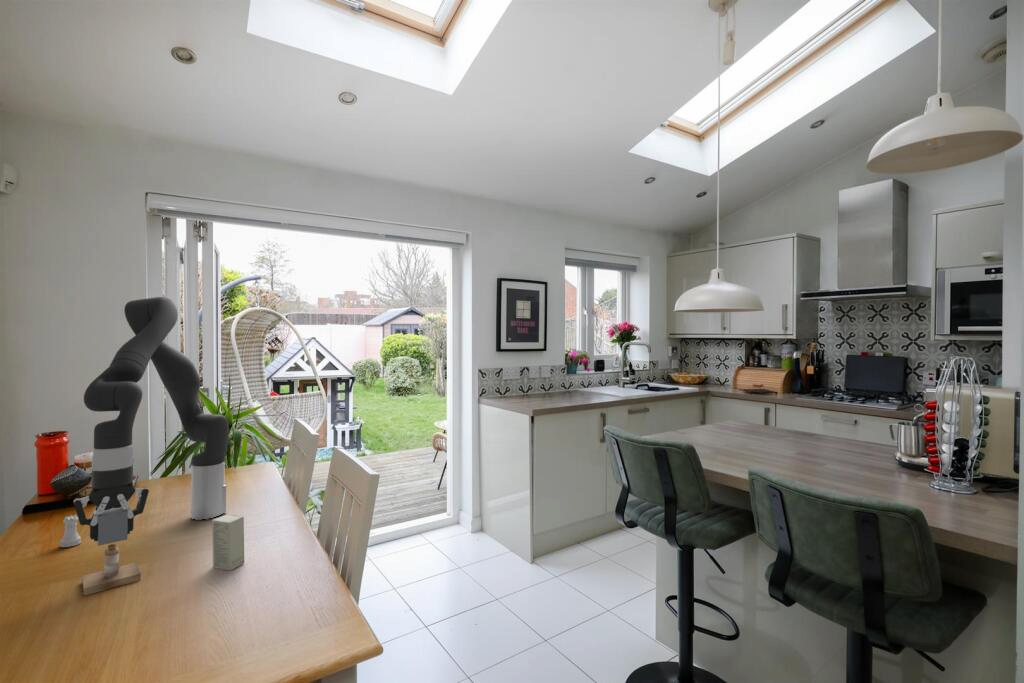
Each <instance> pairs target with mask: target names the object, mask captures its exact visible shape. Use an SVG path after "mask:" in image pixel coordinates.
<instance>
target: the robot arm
mask: <svg viewBox="0 0 1024 683" xmlns="http://www.w3.org/2000/svg"><path fill="white" fill-rule="evenodd" d="M178 314H179V311H178V308H177V305H176V304H175V302H174V301H173V300H172V299H171V298H169V297H167V296H159V297H158V296H157V297H149V298H143V299H142V298H141V299H140V298H139V299H134V300H130V301H128V302H126V304H125V305H124V316H125V320H126V322H127V324H128V325H129V327H130V329H131V330H132V332H133V334H134V335H135V336H133V337H132V338H130V339H128V341H127V342H124V344H123V345H121V347H120V348H119V349H118V350H117V352H116V353H115V355H114V357H113V359H112V360H111V363H110V364H109V366H108V367H107V368H106V369H105V370H104V371H103V372H102V373H100V374H99V375H98V376H97V377H96V378H94V379H93V380H92V382H91V383H90V384H89V385H88V386H87V387H86V388H85V391H84V394H83V403H84V405H85V407H86V408H87V409H89V410H90V411H92V412H99V413H100V412H119V414H118V416H117V417H116V418H115V419H111V420H106V421H102V422H99V423H97V424H96V425H95V426H94V429H93V452H92V458H91V490H90V492H89V494H88V495H87V496H84V497H80V498H79V497H77V498H74V500H73V505H74V508H75V509H74V510H75V512H76V515H77V517H78V521H79V524H80V525H81V526H85V525H86V526H89V539H91V540H93V542H97V541H98V516H100V515H102V513H103V511H104V510H109V509H112V508H120V507H122V508H123V510H124V511H126V510H127V511H128V530H127V535H130V534H131V532H132V531H133V530H134V518H135V517H136V516H137V515H141V514H143V513H144V510H145V506H146V502H147V499H148V496H149V491H150V490H149V488H148V487H146V486H144V487H136V488H135V486H134V483H133V482H134V462H135V461H134V460H135V459H134V450H133V430H134V429H133V428H134V423H135V420H136V416H137V413H138V410H139V408H140V405H141V402H142V400H143V390H142V387H141V386H140V385H139V384H138V382H140V381H141V380H142V378H143V376H144V375H145V372H146V369H147V367H148V365H149V363H150V360H151V362H152V363H153V367H154V368H155V370H156V372H157V374H158V376H159V379H160V380H161V382H162V384H163V385H164V388H165V389H166V391H167V393H168V395H169V397H170V398H171V401H172V403H173V405H174V407H175V409H176V411H177V414H178V416H179V419H180V422H181V425H182V428H183V430H184V433H185V435H186V437H187V438H188V440H190V441H192V442H195V443H202V444H203V443H204V444H205V445H204V446H205V447H204V450H203V451H201V452H199V453H196V454H194V455H192V457H191V484H190V489H191V491H190V492H191V493H190V494H191V496H190V498H191V499H190V501H191V502H190V519H191V518H192V519H191V520H193V519H195V520H194V521H203V520H202V519H206V520H209V519H208V518H212V519H214V518H213V517H216V516H218V515H221V514H223V513H226V514H227V484H225V477H226V476H225V473H226V472H225V471H226V470H225V469H226V468H225V467H226V466H225V465H226V463H225V462H226V455H227V451H228V445H229V444H228V443H229V429H230V428H229V422H228V419H227V417H226V416H225V415H223V414H213V413H212V414H211V413H208V414H207V413H204V412H203V410H202V408H200V404H199V402H198V395H199V391H200V386H201V378H200V375H199V372H198V369H197V368H196V367H195V364H194V362H193V361H192V360H191V359H190V357H188V356H187V355H186V354H184V353H183V352H181V351H180V350H179V349H176V348H175V347H173V346H172V345H170V344H169V343H168V342H166V341H165V339H166V338H167V336H168V335H169V333H171V331H172V330H173V328H174V327H175V325H176V324H177V322H178V317H179V315H178ZM134 494H136V496H137V498H138V500H137V504H136V507H135V508H133V509H132V508H131V507H130V505H129V503H128V501H130V499H131V498H132V496H134ZM89 501H90V502H91V503H92V504H94V505H95V508H94V510H93V513H92V514H91V517H86V513H85V510H84V508H86V507H87V504H88V502H89ZM223 515H224V514H223ZM221 516H222V515H221ZM216 518H217V517H216Z"/></svg>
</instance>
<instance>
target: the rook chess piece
mask: <svg viewBox="0 0 1024 683" xmlns="http://www.w3.org/2000/svg"><path fill="white" fill-rule="evenodd" d="M78 521H79V519H78V516H77V514H73V515H71V514H70V515H69V516H68V515H67V516H65V517H64V519H63V521H62V522H63V523H64V524H65V525H64V526H63V527H64V534H63V536H62V537H61V538H62V539H61V540H60V542H59V543H60V545H59V547H60V548H61V547H70V546H74V547H76V546H75V545H77V546H79V545H80V544H81V543H82V540H81V539H82V538H81V536H80V533H78V528H77V527H78V526H77V525H79V524H78ZM78 544H79V545H78ZM70 548H71V547H70Z"/></svg>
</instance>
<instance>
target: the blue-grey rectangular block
mask: <svg viewBox="0 0 1024 683" xmlns="http://www.w3.org/2000/svg"><path fill="white" fill-rule="evenodd" d="M127 530H128V511H127V510H126V511H124V510H123V508H122V507H120V508H111V509H109V510H104V511H103V513H102V515H100V516H98V541H96V543H97V546H103V545H107V544H108V545H110V544H114V543H117V542H123V541H127V540H128V534H127Z"/></svg>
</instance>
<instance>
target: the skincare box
mask: <svg viewBox="0 0 1024 683" xmlns="http://www.w3.org/2000/svg"><path fill="white" fill-rule="evenodd" d="M244 518H245V517H244V516H241V515H234V514H227V513H226V514H223V515H221V516H219V517H216V518H212V519H211V521H212V522H211V525H212V529H211V530H212V567H213V568H216V569H220V570H226V571H232V570H233V569H236V568H238V567H241V565H243V564H245V529H244V528H245V524H244V523H245V522H244V521H245V519H244Z"/></svg>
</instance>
